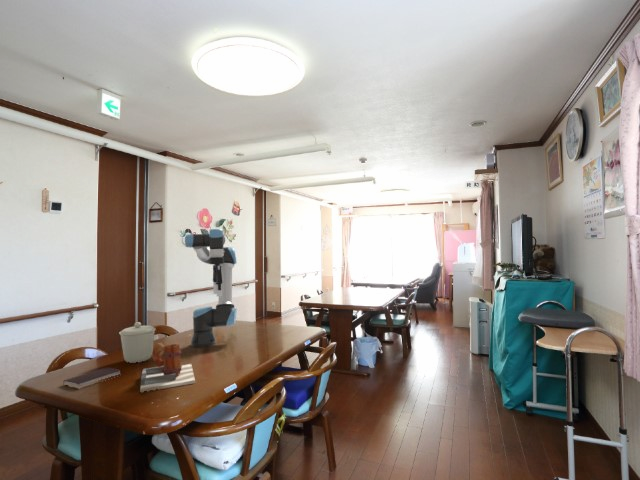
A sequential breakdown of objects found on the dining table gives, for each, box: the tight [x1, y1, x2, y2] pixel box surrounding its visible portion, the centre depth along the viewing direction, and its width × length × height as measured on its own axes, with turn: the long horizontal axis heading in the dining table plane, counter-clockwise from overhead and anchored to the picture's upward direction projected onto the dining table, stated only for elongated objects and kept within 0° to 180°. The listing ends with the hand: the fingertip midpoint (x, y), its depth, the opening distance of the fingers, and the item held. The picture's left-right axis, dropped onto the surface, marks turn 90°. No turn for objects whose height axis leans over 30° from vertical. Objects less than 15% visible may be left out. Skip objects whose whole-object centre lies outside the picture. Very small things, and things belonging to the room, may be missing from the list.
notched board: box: [139, 363, 196, 393], centre depth 164 cm, size 26×22×4 cm
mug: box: [152, 342, 182, 376], centre depth 164 cm, size 15×8×15 cm, turn 75°
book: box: [63, 367, 122, 387], centre depth 164 cm, size 12×19×3 cm, turn 152°
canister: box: [118, 321, 156, 364], centre depth 193 cm, size 18×18×21 cm
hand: (217, 295), depth 193 cm, fingers open, 13 cm apart
